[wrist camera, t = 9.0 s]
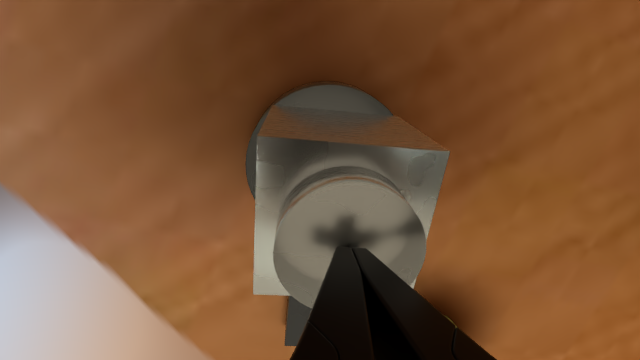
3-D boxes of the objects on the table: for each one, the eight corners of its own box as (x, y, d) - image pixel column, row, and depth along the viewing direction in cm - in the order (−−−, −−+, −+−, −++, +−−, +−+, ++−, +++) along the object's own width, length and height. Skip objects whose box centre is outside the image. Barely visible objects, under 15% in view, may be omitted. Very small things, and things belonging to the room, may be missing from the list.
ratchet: (253, 72, 15) (234, 82, 11) (411, 89, 16) (455, 106, 12) (246, 324, 22) (231, 398, 17) (360, 328, 22) (375, 400, 18)
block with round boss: (398, 116, 15) (474, 168, 8) (377, 224, 17) (425, 333, 10) (272, 104, 14) (249, 151, 8) (267, 218, 16) (246, 328, 10)
